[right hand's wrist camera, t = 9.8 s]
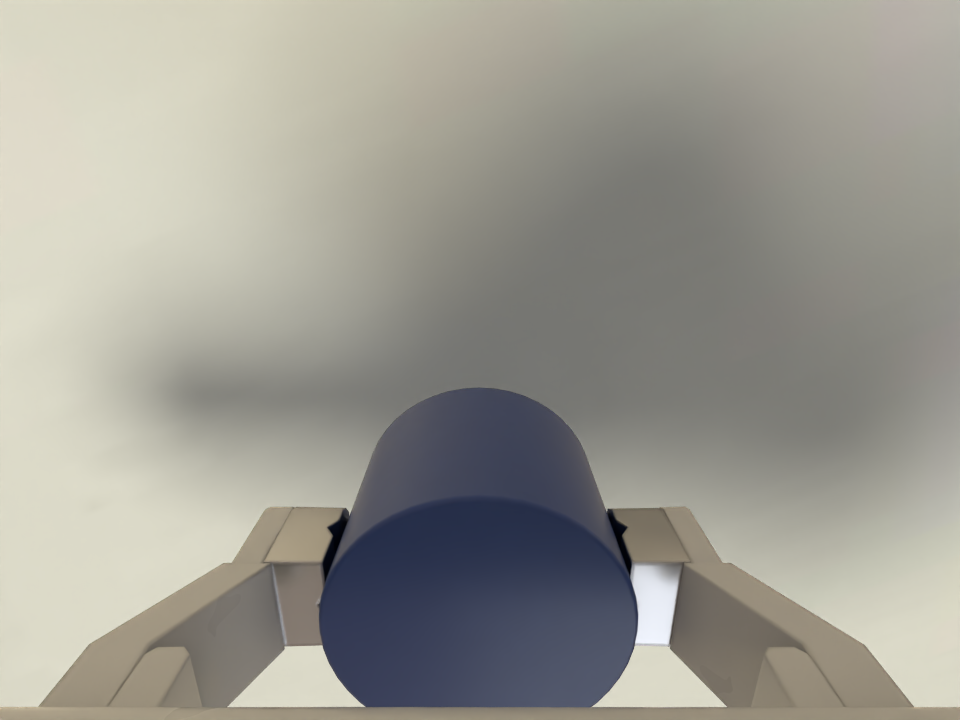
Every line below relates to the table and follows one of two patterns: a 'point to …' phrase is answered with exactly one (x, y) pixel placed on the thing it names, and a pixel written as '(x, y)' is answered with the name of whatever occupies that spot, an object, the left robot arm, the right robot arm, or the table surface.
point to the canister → (478, 564)
